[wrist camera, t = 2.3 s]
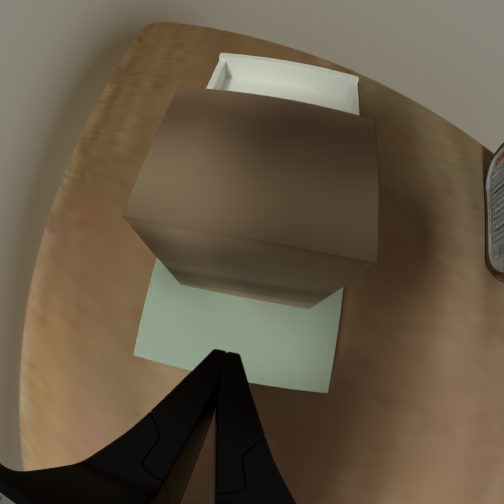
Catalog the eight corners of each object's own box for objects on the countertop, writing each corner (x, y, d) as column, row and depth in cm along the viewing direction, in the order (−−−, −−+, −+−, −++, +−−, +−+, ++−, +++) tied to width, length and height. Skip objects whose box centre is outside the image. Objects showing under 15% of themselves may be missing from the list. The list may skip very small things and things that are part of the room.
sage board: (319, 389, 19) (327, 393, 17) (143, 354, 19) (133, 355, 17) (344, 161, 24) (351, 146, 22) (204, 135, 25) (202, 120, 23)
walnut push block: (309, 309, 18) (377, 262, 9) (180, 284, 19) (122, 216, 9) (320, 220, 20) (374, 119, 11) (203, 198, 20) (179, 87, 11)
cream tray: (351, 162, 24) (362, 141, 21) (197, 135, 25) (193, 111, 22) (350, 97, 27) (358, 76, 24) (222, 75, 27) (221, 52, 24)
